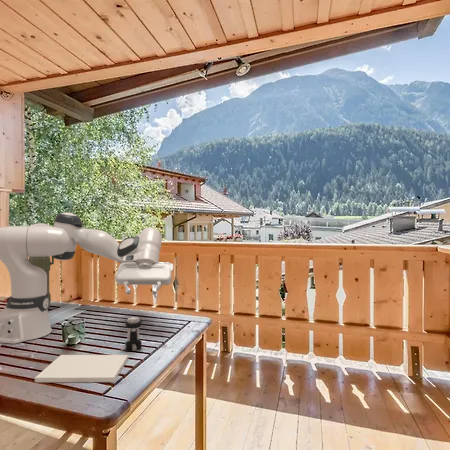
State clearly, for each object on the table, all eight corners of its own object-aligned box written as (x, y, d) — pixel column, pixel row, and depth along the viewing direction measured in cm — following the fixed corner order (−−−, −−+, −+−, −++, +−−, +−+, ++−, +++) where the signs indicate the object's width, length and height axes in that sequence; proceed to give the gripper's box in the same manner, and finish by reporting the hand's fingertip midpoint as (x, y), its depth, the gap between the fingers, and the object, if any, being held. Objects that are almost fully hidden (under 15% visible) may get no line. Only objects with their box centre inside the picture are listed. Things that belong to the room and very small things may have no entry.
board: (34, 382, 83) (34, 377, 83) (60, 358, 97) (60, 355, 97) (113, 382, 84) (113, 377, 84) (128, 358, 98) (128, 354, 98)
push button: (122, 354, 101) (122, 322, 100) (118, 348, 105) (118, 318, 105) (143, 350, 104) (143, 319, 104) (139, 344, 109) (139, 315, 108)
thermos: (24, 307, 152) (23, 232, 152) (52, 304, 159) (52, 232, 159) (25, 312, 145) (25, 233, 145) (55, 307, 152) (54, 233, 151)
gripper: (174, 267, 128) (171, 298, 118) (121, 266, 127) (114, 298, 117) (173, 257, 123) (169, 288, 114) (118, 256, 122) (110, 288, 113)
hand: (141, 293), depth 116 cm, fingers open, 8 cm apart
